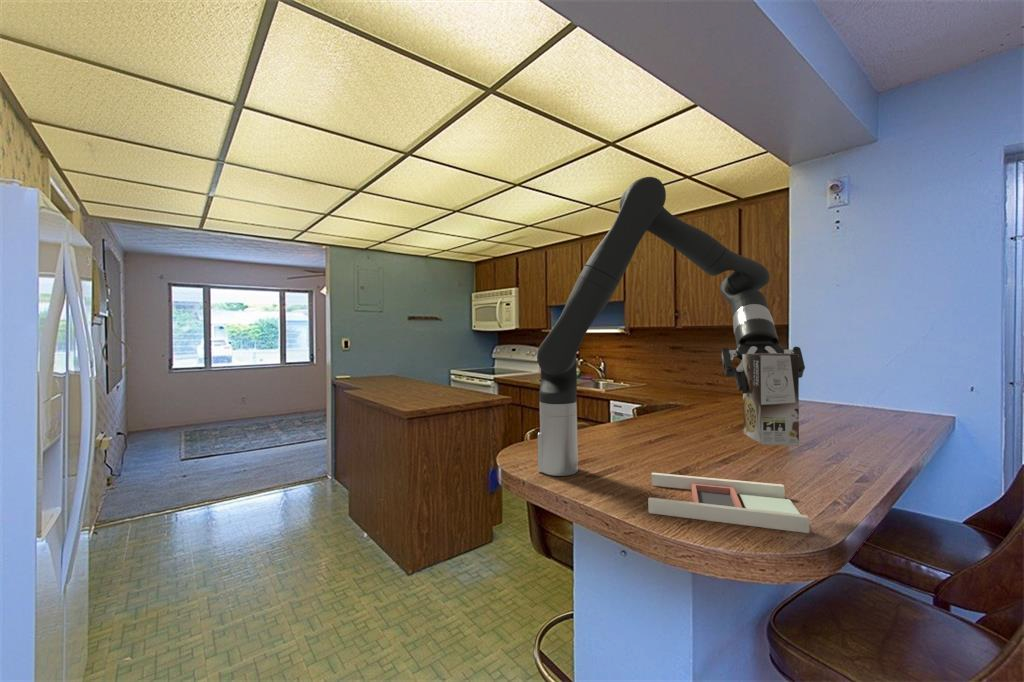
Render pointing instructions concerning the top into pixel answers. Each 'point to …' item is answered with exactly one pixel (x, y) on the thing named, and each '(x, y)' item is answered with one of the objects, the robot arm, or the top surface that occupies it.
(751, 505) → the pad
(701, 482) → the walled lane
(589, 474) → the top surface
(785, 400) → the coffee box
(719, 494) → the frame
